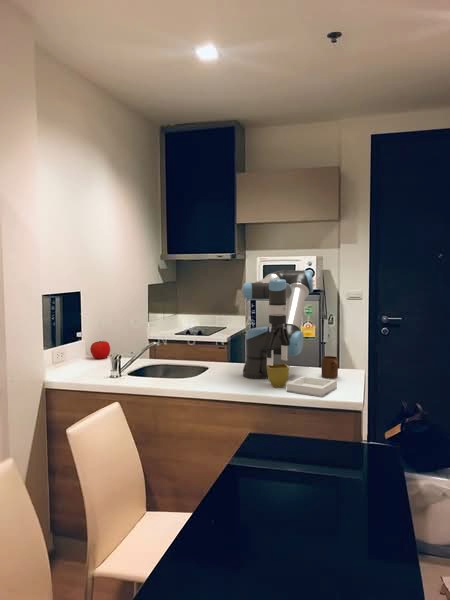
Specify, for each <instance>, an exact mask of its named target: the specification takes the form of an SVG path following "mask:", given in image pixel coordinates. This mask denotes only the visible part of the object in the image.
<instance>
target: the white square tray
mask: <svg viewBox="0 0 450 600" xmlns="http://www.w3.org/2000/svg"><path fill="white" fill-rule="evenodd" d="M337 384H338V380H336V379H328V378H321V377H313V376H303V375H302V376H300V377H298V378H296V379H294V380H293V379H292V380H291V381H289V382H287V383H286V392H287V393H292V394H297V395H298V394H299V395H307V396H313V397H320V398H324V397H325V396H327V395H328V394H330V393H332V392H334V391H335V390H337V388H338V385H337Z"/></svg>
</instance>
